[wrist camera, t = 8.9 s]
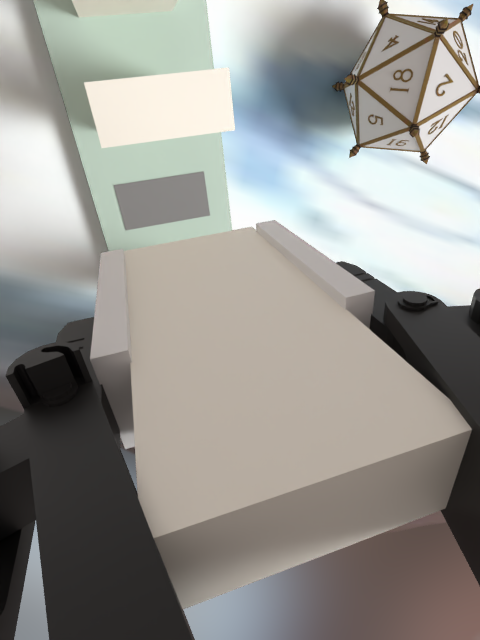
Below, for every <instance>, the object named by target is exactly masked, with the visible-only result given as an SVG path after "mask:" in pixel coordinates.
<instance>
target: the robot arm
mask: <svg viewBox="0 0 480 640" xmlns="http://www.w3.org/2000/svg"><path fill="white" fill-rule="evenodd" d="M256 230H257V233H259V234H260V235H261V236H262V237H263V238H264V239H265V240H266V241H268V242H269V243H270V244H271V245H272V246H273V247H274V248H276V249H277V250H278V251H279V252H280V253H281V254H282V255H284V256H285V257H286V258H287V259H288V260H289V261H290V262H291V263H293V264H294V265H295V266H296V267H297V268H298V269H299V270H301V271H302V272H303V273H304V274H305V275H306V276H307V277H309V278H310V279H311V280H312V281H313V282H314V283H315V284H317V285H318V286H319V287H320V288H321V289H322V290H323V291H324V292H326V293H327V294H328V295H329V296H330V297H331V298H332V299H334V300H335V301H336V302H337V303H338V304H339V305H340V306H342V307H343V308H344V309H345V310H346V309H347V310H348V311H349V312H350V313H351V314H352V315H354V316H355V317H356V318H357V319H358V320H359V321H360V322H362V323H363V324H364V325H365V326H366V327H367V328H368V329H370V330H371V331H372V332H373V333H374V334H375V335H377V336H378V337H379V338H380V339H381V340H382V341H383V342H385V343H386V344H387V345H388V346H389V347H390V348H391V349H393V350H394V351H395V352H396V353H397V354H398V355H399V356H401V357H402V358H403V359H404V360H405V361H406V362H407V363H409V364H410V365H411V366H412V367H413V368H414V369H415V370H417V371H418V372H419V373H420V374H421V375H422V376H424V377H425V378H426V379H427V380H428V381H429V382H430V383H432V384H433V385H434V386H435V387H436V388H437V389H438V390H440V391H441V392H442V393H443V394H444V395H445V396H446V397H448V398H449V399H450V400H451V402H452V403H453V404H454V406H455V407H456V408H457V410H458V411H459V412H460V414H461V415H462V416H463V418H464V419H465V421H466V422H467V423H468V425H469V426H470V427H471V429H472V431H471V434H470V437H469V440H468V443H467V446H466V449H465V452H464V455H463V458H462V461H461V464H460V467H459V470H458V473H457V476H456V479H455V482H454V485H453V488H452V491H451V494H450V497H449V500H448V503H447V506H446V508H445V509H443V510H441V512H442V514H443V516H444V518H445V520H446V522H447V524H448V525H449V527H450V529H451V531H452V533H453V535H454V537H455V539H456V541H457V543H458V545H459V547H460V549H461V551H462V552H463V554H464V556H465V558H466V560H467V562H468V564H469V566H470V568H471V570H472V572H473V574H474V575H475V578H476V579H477V581H478V583H479V585H480V289H477V290H476V291H475V293H474V295H473V299H472V303H471V305H470V306H450V307H447V306H446V305H445V304H444V303H443V302H442V301H441V300H439V299H438V298H436V297H435V296H432V295H429V294H426V293H421V292H415V291H403V292H398V293H397V292H396V291H394V290H393V289H391V288H390V287H388V286H387V285H385V284H383V283H382V282H380V281H379V280H377V279H374V277H373V276H371V275H370V274H368V273H367V274H366V272H365V271H364V270H362V269H361V268H359V267H358V266H356V265H352V264H349V263H346V262H343V261H341V262H337V263H335V262H333V261H332V260H331V259H329V258H328V257H326V256H325V255H324V254H322V253H321V252H319V251H318V250H316V249H315V248H314V247H312V246H311V245H309V244H308V243H306V242H305V241H304V240H302V239H301V238H299V237H298V236H297V235H295V234H294V233H292V232H291V231H289V230H288V229H287V228H285V227H284V226H282V225H281V224H279V223H278V222H277V221H275V220H273V221H268V222H262V223H257V224H256ZM130 363H132V354H131V339H130V324H129V308H128V293H127V277H126V262H125V255H124V251H123V249H119V250H113V251H108V252H103V253H101V257H100V266H99V276H98V286H97V296H96V305H95V315H94V317H92V318H87V319H83V320H78V321H74V322H69V323H67V325H66V326H65V327H64V328H63V329H62V330H61V331H60V332H59V333H58V336H57V340H56V343H51V344H47V345H43V346H40V347H38V348H35V349H33V350H31V351H28V352H27V353H25V354H24V355H22V356H21V357H19V358H18V359H16V360H15V361H14V362H13V363H12V364H11V366H10V367H9V368H8V370H7V374H6V377H7V379H8V381H9V383H10V384H11V386H12V388H13V390H14V392H15V393H16V395H17V397H18V399H19V401H20V402H21V404H22V406H23V408H24V414H22V415H21V416H19V417H18V418H16V419H14V420H12V421H10V422H8V423H6V424H4V425H2V426H0V640H14V636H15V631H16V625H17V619H18V614H19V609H20V603H21V598H22V592H23V587H24V581H25V575H26V570H27V564H28V559H29V553H30V548H31V542H32V536H33V531H34V526H35V520H36V523H37V532H38V540H39V550H40V559H41V568H42V577H43V586H44V596H45V605H46V613H47V623H48V632H49V640H195V639H194V637H193V634H192V632H191V629H190V626H189V624H188V621H187V619H186V616H185V614H184V611H183V609H182V606H181V604H180V601H179V599H178V597H177V594H176V592H175V589H174V587H173V584H172V582H171V580H170V577H169V575H168V572H167V570H166V567H165V565H164V563H163V560H162V558H161V555H160V553H159V550H158V548H157V545H156V543H155V541H154V538H153V536H152V533H151V530H150V528H149V525H148V523H147V520H146V517H145V515H144V512H143V510H142V507H141V505H140V502H139V499H138V493H137V491H136V488H135V486H134V483H133V481H132V478H131V475H130V473H129V470H128V468H127V465H126V463H125V460H124V458H123V455H122V453H121V450H120V437H121V440H122V442H123V445H124V447H125V449H128V448H131V447H135V439H134V421H133V403H132V386H131V368H130Z"/></svg>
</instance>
